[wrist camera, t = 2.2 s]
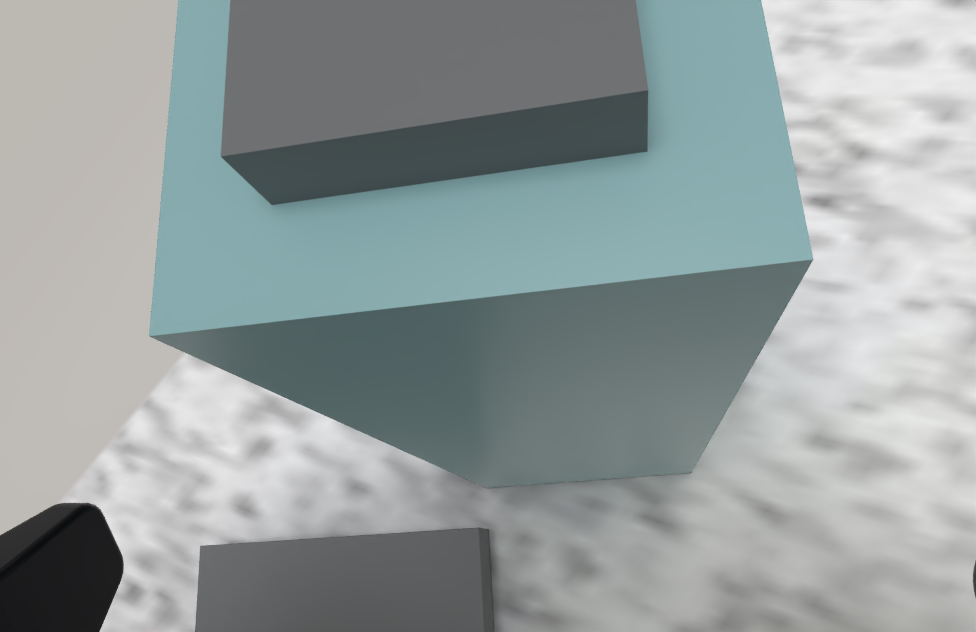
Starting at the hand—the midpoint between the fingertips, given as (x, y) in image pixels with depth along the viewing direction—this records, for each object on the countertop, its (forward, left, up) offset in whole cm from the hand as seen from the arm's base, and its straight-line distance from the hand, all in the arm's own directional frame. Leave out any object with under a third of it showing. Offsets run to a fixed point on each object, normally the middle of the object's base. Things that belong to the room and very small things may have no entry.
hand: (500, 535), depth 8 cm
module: (+4, 0, -11) cm, 12 cm away
